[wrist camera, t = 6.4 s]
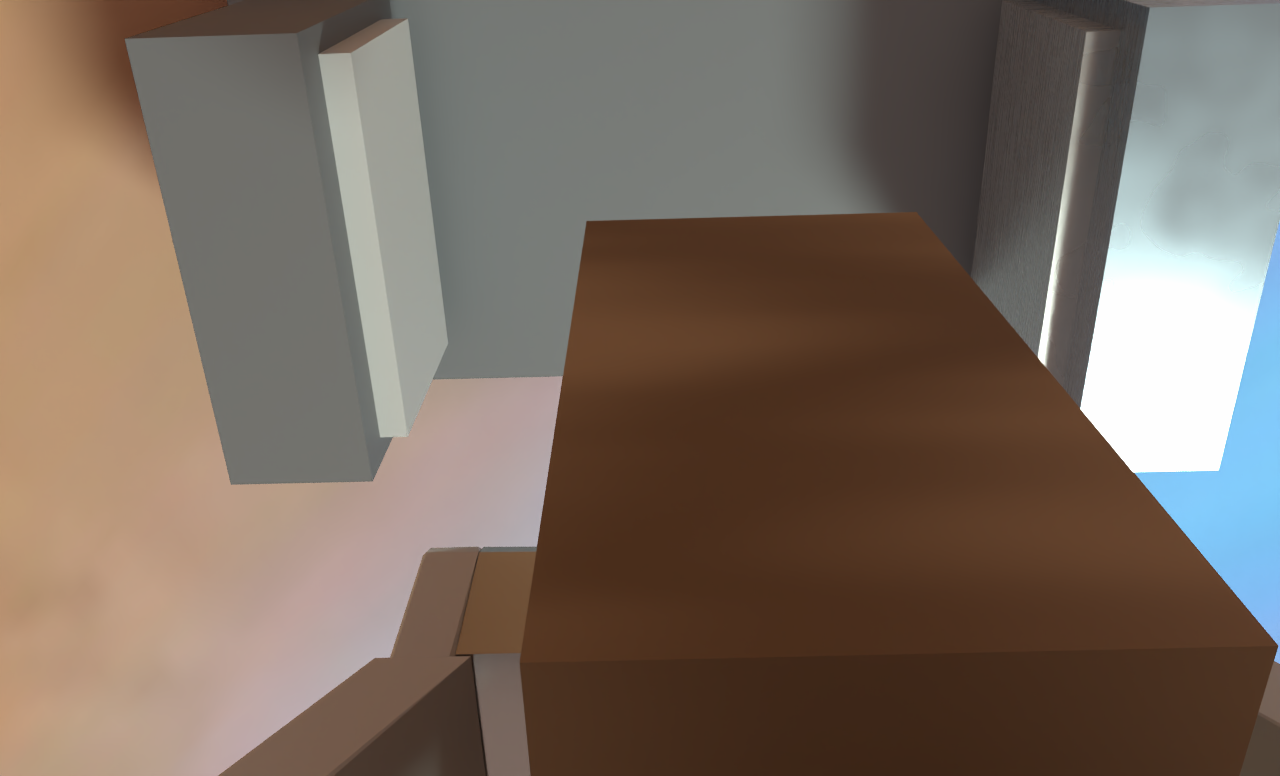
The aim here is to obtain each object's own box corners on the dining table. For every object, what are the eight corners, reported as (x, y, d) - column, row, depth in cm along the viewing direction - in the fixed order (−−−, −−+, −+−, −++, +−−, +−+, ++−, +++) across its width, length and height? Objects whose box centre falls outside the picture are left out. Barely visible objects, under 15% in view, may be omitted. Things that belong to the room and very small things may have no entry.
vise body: (1153, -88, 25) (1387, -67, 17) (1082, 333, 30) (1239, 503, 22) (247, -56, 26) (62, -22, 18) (321, 352, 31) (203, 525, 23)
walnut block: (916, 212, 11) (1279, 646, 5) (876, 657, 14) (1077, 1315, 7) (586, 221, 11) (519, 661, 5) (609, 663, 14) (585, 1323, 7)
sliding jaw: (1152, -34, 24) (1332, 1, 17) (1089, 334, 28) (1218, 470, 21) (991, -28, 24) (1113, 8, 17) (952, 337, 28) (1039, 474, 21)
